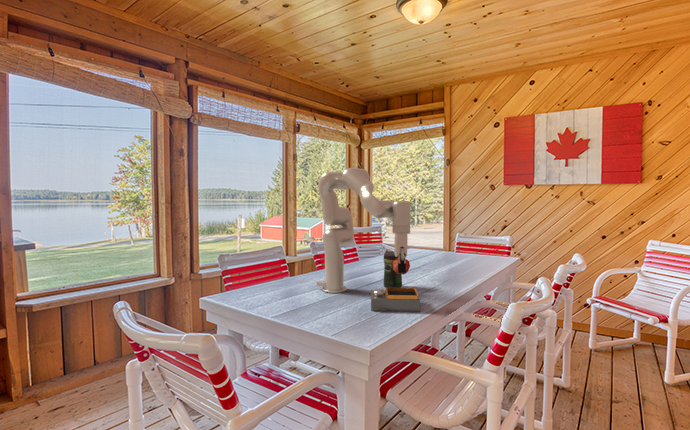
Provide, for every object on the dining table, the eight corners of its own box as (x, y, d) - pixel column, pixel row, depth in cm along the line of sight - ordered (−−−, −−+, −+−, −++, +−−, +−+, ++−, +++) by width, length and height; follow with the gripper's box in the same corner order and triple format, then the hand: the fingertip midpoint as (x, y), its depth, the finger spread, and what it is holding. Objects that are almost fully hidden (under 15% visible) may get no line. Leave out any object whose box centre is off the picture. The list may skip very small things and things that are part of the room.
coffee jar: (404, 287, 181) (404, 252, 180) (394, 290, 176) (394, 254, 176) (391, 284, 189) (391, 250, 188) (380, 286, 184) (380, 251, 183)
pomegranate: (393, 276, 153) (386, 265, 146) (399, 262, 156) (393, 251, 149) (409, 280, 149) (402, 269, 142) (414, 265, 152) (408, 254, 145)
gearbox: (371, 310, 144) (371, 295, 143) (371, 301, 158) (371, 286, 157) (420, 311, 142) (420, 296, 142) (415, 301, 156) (416, 287, 156)
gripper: (391, 228, 157) (391, 266, 158) (393, 231, 140) (393, 275, 141) (408, 228, 157) (408, 267, 157) (412, 231, 139) (412, 275, 140)
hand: (401, 270), depth 149 cm, fingers closed on pomegranate, 7 cm apart
